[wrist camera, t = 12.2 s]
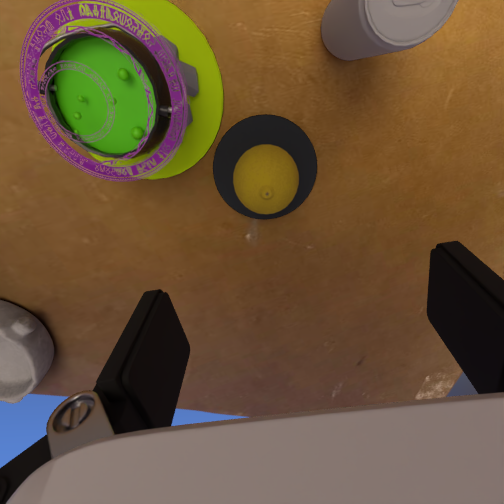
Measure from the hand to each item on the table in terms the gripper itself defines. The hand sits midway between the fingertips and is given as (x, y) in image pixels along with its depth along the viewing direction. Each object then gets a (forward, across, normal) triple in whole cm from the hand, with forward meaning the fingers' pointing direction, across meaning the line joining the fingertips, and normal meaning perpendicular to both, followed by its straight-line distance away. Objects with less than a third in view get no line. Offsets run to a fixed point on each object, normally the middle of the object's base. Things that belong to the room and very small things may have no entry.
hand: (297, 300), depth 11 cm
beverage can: (+22, -8, -9) cm, 25 cm away
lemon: (+22, +1, 0) cm, 22 cm away
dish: (+22, +39, +15) cm, 47 cm away
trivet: (+22, +1, +1) cm, 22 cm away
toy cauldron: (+22, +11, -8) cm, 26 cm away
